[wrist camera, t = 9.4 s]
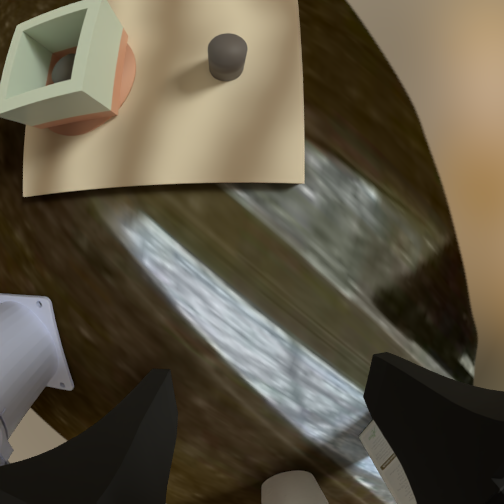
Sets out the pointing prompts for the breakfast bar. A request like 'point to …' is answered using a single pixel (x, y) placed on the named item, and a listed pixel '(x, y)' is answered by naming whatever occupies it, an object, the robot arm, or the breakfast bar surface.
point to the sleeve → (83, 74)
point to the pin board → (186, 102)
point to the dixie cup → (292, 489)
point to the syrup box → (387, 464)
